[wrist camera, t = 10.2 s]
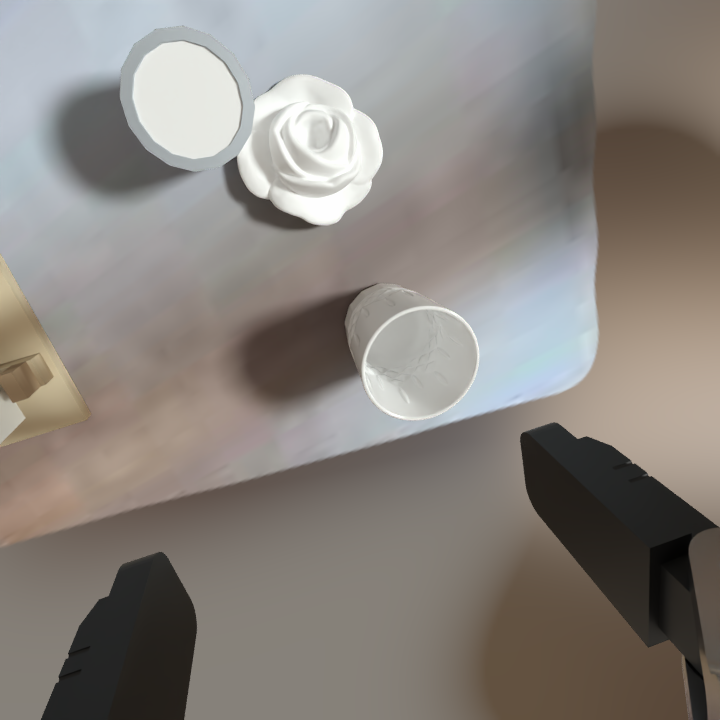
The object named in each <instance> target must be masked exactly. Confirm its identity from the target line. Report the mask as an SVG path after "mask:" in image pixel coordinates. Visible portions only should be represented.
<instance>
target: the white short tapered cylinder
mask: <svg viewBox="0 0 720 720" xmlns="http://www.w3.org/2000/svg"><path fill="white" fill-rule="evenodd" d="M120 100H121V104H122V107H123V110H124V113H125V116H126V119H127V123H128V126H129V127H130V129H131V130H132V131H133V133H134V134H135V135H136V137H137V138H138V139H139V141H140V142H141V143H142V145H143V146H144V147H145V149H146V150H147V151H149V152H150V153H152V154H153V155H155V156H156V157H158V158H159V159H161V160H162V161H164V162H165V163H166V164H168V165H169V166H173V167H177V168H181V169H186V170H190V171H194V172H197V171H203V170H209V169H215V168H219V167H221V166H222V165H224V164H225V163H227V162H228V161H230V160H231V159H233V158H234V157H236V156H237V155H239V153H240V151H241V150H242V148H243V146H244V145H245V143H246V141H247V140H248V138H249V136H250V135H251V132H252V125H253V118H254V111H255V104H254V99H253V95H252V90H251V86H250V81H249V78H248V76H247V75H246V73H245V72H244V70H243V68H242V67H241V65H240V63H239V62H238V60H237V58H236V57H235V55H234V53H232V52H231V51H230V50H229V49H227V48H226V47H225V46H224V45H223V44H221V43H220V42H219V41H218V40H216V39H215V38H214V37H213V36H212V35H210V34H207V33H204V32H201V31H198V30H195V29H192V28H188V27H185V26H177V27H169V28H161V29H155V30H154V31H152V32H151V33H150V34H148V35H147V36H145V37H144V38H142V39H141V40H140V41H138V42H137V43H135V44H134V45H133V47H132V49H131V51H130V53H129V55H128V57H127V59H126V61H125V63H124V64H123V66H122V68H121V82H120Z"/></svg>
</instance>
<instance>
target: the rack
mask: <svg viewBox="0 0 720 720" xmlns="http://www.w3.org/2000/svg"><path fill="white" fill-rule="evenodd" d="M0 384H1V386H2V387H3V389H4V390H5V392H6V393H7V395H8V397H9V398H10V400H11V401H12V403H15V402H16V404H17V405H18V407H19V408H20V410H21V411H22V413H23V415H24V416H25V419H24V420H23V421H22V422H21V423H20V424H19V425H18V426H17V427H16V429H15V430H14V431H13V432H12V433H11V434H10V435H9V436H8V437H7V438H6V439H5V440H4V441H3V442H2V443H1V444H0V447H2V446H5V445H8V444H12V443H15V442H18V441H21V440H24V439H28V438H31V437H34V436H37V435H40V434H44V433H47V432H50V431H53V430H56V429H60V428H63V427H66V426H69V425H72V424H76V423H79V422H82V421H85V420H87V419H88V418H89V416H90V415H91V412H90V411H89V409H88V407H87V405H86V404H85V402H84V400H83V398H82V397H81V395H80V393H79V391H78V390H77V388H76V386H75V384H74V383H73V381H72V379H71V377H70V376H69V374H68V372H67V370H66V368H65V367H64V365H63V363H62V361H61V360H60V358H59V356H58V354H57V353H56V351H55V349H54V347H53V346H52V344H51V342H50V340H49V339H48V337H47V335H46V333H45V332H44V330H43V328H42V326H41V324H40V323H39V321H38V319H37V317H36V316H35V314H34V312H33V310H32V309H31V307H30V305H29V303H28V302H27V300H26V298H25V296H24V295H23V293H22V291H21V289H20V288H19V286H18V284H17V282H16V280H15V279H14V277H13V275H12V273H11V272H10V270H9V268H8V266H7V265H6V263H5V261H4V259H3V258H2V256H1V254H0Z"/></svg>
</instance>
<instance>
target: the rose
mask: <svg viewBox="0 0 720 720" xmlns="http://www.w3.org/2000/svg"><path fill="white" fill-rule="evenodd" d="M254 104H255V111H254V118H253V125H252V132H251V135H250V136H249V138H248V140H247V141H246V143H245V145H244V146H243V148H242V150H241V151H240V153H239V155H237V164H238V169H239V172H240V176H241V178H242V180H243V182H244V183H245V185H246V187H247V188H248V190H249V191H250V192H251V193H252V194H254V195H255V196H257V197H259V198H263V199H270V201H271V202H272V203H273V204H274V206H275V207H276V208H278V209H279V210H281V211H283V212H286V213H288V214H291V215H293V216H297V217H300V218H302V219H303V220H305V221H306V222H308V223H311V224H314V225H331V224H334V223H336V222H338V221H339V220H340V219H341V217H342V216H343V214H344V213H345V212H346V211H347V210H349V209H351V208H353V207H355V206H356V205H357V204H359V203H360V202H361V201H362V200H363V199H364V198H365V196H366V195H367V194H368V192H369V191H370V188H371V185H372V181H371V179H372V178H373V177H374V175H375V174H376V172H377V171H378V169H379V167H380V165H381V162H382V157H383V148H382V143H381V140H380V138H379V134H378V130H377V127H376V125H375V124H374V122H373V121H372V120H371V119H370V118H369V117H368V116H367V115H365V114H364V113H362V112H360V111H358V110H356V109H354V108H353V105H352V101H351V99H350V97H349V95H348V94H347V93H346V92H345V91H344V90H343V89H342V88H340V87H339V86H337V85H335V84H333V83H330V82H327V81H325V80H323V79H321V78H318V77H315V76H312V75H293V76H289V77H287V78H285V79H283V80H282V81H280V82H279V83H278V84H276V85H275V86H274V87H273V88H272V89H271V90H270V91H268V92H266V93H264V94H262V95H260V96H258V97H257V98H256V99H255V100H254Z"/></svg>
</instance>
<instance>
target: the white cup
mask: <svg viewBox="0 0 720 720" xmlns="http://www.w3.org/2000/svg"><path fill="white" fill-rule="evenodd" d="M344 324H345V329H346V335H347V340H348V344H349V348H350V351H351V354H352V357H353V360H354V363H355V365H356V368H357V370H358V373H359V375H360V378H361V381H362V383H363V386H364V389H365V391H366V393H367V395H368V397H369V399H370V400H371V401H372V403H373V404H374V405H375V406H376V407H377V408H378V409H380V410H381V411H382V412H384V413H385V414H387V415H389V416H392V417H394V418H397V419H401V420H409V421H417V420H425V419H429V418H432V417H435V416H438V415H440V414H442V413H444V412H446V411H447V410H449V409H450V408H452V407H453V406H454V405H456V404H457V403H458V402H459V401H460V400H461V399H462V398H463V397H464V395H465V394H466V393H467V392H468V390H469V389H470V387H471V385H472V383H473V381H474V379H475V376H476V374H477V370H478V365H479V347H478V342H477V339H476V336H475V334H474V332H473V330H472V329H471V327H470V326H469V325H468V323H467V322H466V321H465V320H464V319H463V318H462V317H460V316H459V315H458V314H456V313H454V312H452V311H451V310H449V309H447V308H445V307H443V306H441V305H440V304H438V303H436V302H434V301H433V300H431V299H429V298H427V297H425V296H423V295H421V294H419V293H417V292H415V291H412V290H408V289H405V288H404V287H402V286H400V285H398V284H382V283H379V284H376V285H374V286H372V287H370V288H367V289H365V290H363V291H361V292H360V294H359V295H358V296H357V297H356V298H355V299H354V301H353V302H352V303H351V304H350V305H349V308H348V312H347V315H346V319H345V322H344Z"/></svg>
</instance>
